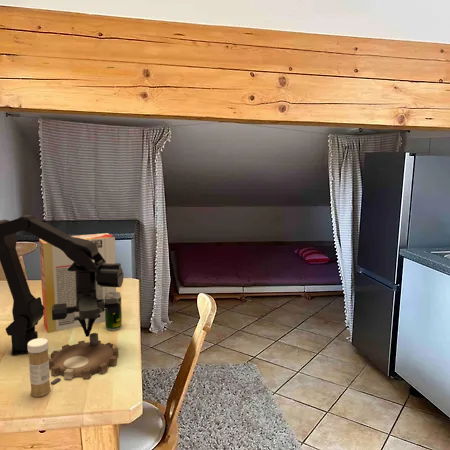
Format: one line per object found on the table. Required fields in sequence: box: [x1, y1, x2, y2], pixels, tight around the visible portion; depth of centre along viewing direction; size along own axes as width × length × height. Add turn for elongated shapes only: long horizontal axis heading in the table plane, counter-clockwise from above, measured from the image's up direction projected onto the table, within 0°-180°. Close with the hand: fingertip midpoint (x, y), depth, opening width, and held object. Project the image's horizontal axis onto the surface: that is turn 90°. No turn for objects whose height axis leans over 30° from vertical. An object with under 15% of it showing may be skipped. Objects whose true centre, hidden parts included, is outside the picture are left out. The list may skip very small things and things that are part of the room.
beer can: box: [104, 291, 123, 332], centre depth 140 cm, size 5×5×12 cm
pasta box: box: [38, 232, 117, 334], centre depth 142 cm, size 23×8×30 cm, turn 122°
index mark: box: [50, 377, 62, 386], centre depth 107 cm, size 2×1×1 cm, turn 161°
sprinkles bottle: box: [27, 337, 51, 398], centre depth 101 cm, size 5×5×14 cm
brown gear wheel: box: [48, 332, 119, 380], centre depth 117 cm, size 19×19×5 cm
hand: (87, 336), depth 122 cm, fingers closed
